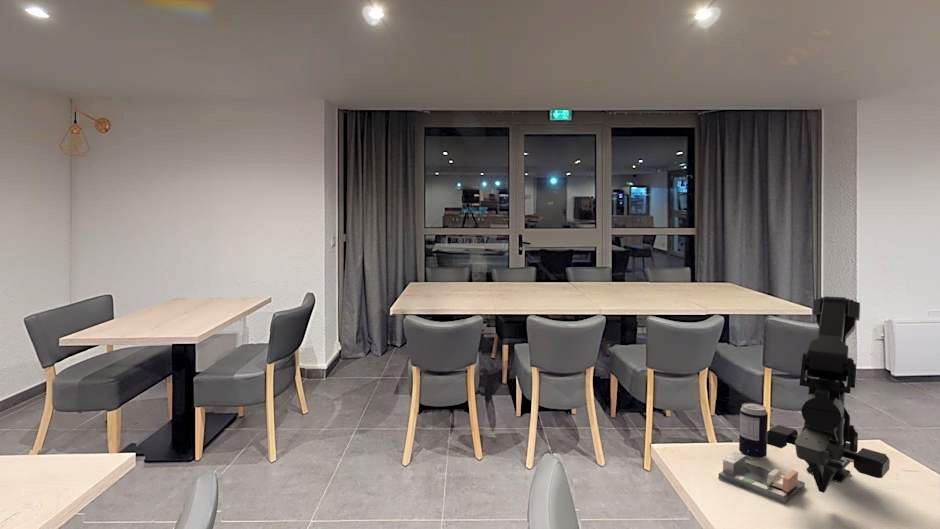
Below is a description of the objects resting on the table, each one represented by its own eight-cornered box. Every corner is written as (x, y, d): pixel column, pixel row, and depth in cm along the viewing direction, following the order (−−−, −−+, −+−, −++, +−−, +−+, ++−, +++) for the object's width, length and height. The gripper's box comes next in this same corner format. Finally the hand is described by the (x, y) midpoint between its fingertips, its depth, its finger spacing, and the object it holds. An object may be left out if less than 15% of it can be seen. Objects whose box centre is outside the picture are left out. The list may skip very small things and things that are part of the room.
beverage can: (770, 462, 112) (771, 411, 112) (743, 460, 114) (745, 410, 113) (761, 451, 118) (762, 402, 117) (735, 449, 119) (736, 401, 118)
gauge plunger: (776, 476, 103) (776, 464, 103) (797, 484, 100) (797, 471, 100) (762, 487, 99) (762, 474, 99) (784, 495, 96) (784, 482, 96)
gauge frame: (739, 464, 111) (739, 449, 111) (804, 487, 101) (805, 471, 101) (718, 478, 105) (718, 462, 105) (785, 504, 95) (786, 487, 95)
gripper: (755, 409, 96) (752, 485, 97) (874, 441, 81) (870, 530, 82) (777, 397, 103) (775, 468, 104) (892, 424, 88) (888, 507, 89)
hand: (822, 491), depth 94 cm, fingers closed
